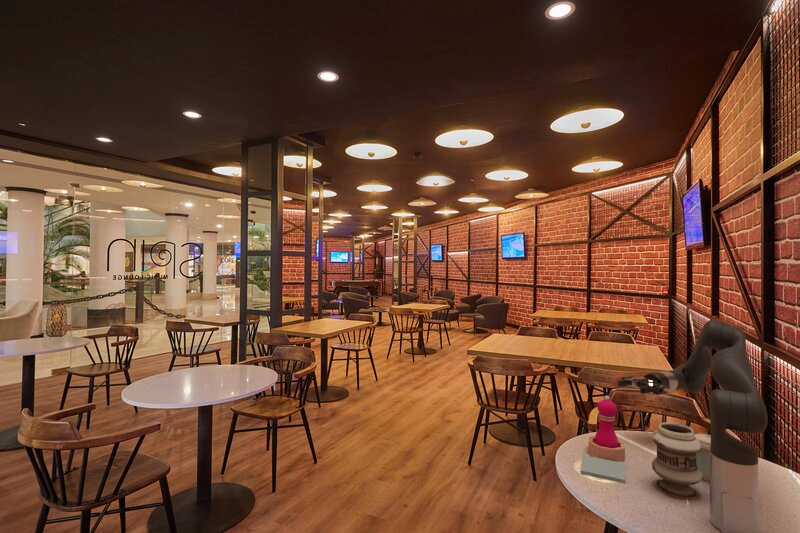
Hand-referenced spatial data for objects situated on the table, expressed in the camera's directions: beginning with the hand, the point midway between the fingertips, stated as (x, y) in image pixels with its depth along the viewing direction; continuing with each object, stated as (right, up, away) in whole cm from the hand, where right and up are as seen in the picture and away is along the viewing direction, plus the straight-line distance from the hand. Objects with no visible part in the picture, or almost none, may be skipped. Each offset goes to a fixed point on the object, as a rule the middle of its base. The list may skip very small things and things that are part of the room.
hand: (629, 387), depth 146 cm
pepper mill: (-11, -22, -5) cm, 25 cm away
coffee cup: (+13, -22, -20) cm, 32 cm away
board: (-17, -22, -16) cm, 32 cm away
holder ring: (-11, -22, -5) cm, 25 cm away
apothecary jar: (-2, -22, -27) cm, 35 cm away
